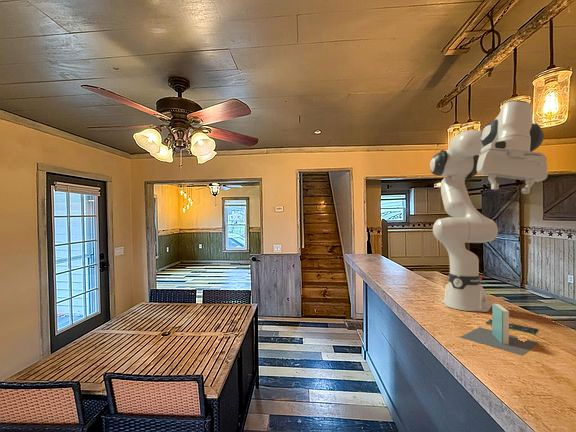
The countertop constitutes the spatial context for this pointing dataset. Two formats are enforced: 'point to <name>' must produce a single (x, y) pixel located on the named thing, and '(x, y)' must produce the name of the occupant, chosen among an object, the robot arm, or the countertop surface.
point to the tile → (500, 323)
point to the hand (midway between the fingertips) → (510, 191)
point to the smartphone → (518, 328)
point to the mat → (489, 339)
